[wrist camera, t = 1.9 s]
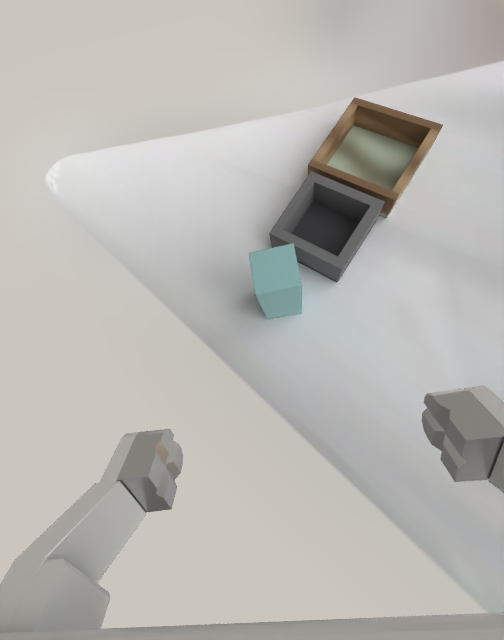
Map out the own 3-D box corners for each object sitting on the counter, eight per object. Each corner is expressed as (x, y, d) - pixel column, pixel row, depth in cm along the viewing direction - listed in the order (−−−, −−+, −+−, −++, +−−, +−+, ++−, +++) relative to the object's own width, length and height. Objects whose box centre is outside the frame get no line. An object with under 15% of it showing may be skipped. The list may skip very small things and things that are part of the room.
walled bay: (350, 121, 41) (354, 97, 37) (430, 149, 37) (443, 125, 34) (307, 184, 39) (308, 164, 36) (386, 218, 36) (395, 200, 33)
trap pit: (310, 192, 39) (311, 171, 35) (376, 221, 36) (385, 201, 33) (272, 248, 38) (269, 233, 34) (337, 282, 35) (341, 269, 31)
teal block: (295, 281, 36) (293, 243, 27) (301, 313, 35) (302, 285, 26) (262, 287, 37) (248, 252, 27) (267, 319, 36) (255, 294, 26)
